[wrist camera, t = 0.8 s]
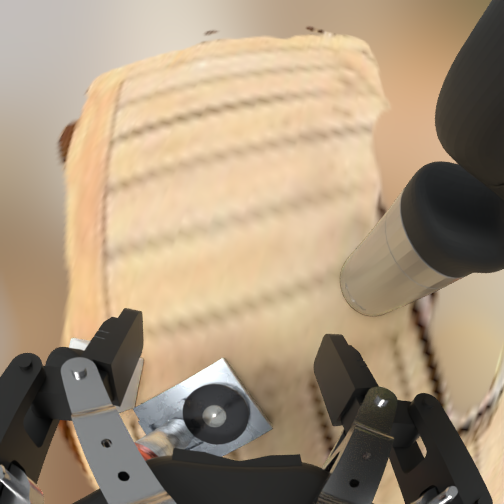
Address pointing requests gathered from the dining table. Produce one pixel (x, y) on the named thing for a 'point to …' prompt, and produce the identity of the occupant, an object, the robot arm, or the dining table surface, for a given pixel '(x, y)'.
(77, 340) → the medicine bottle
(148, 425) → the tensioner block
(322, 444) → the dining table surface
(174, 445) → the pin
